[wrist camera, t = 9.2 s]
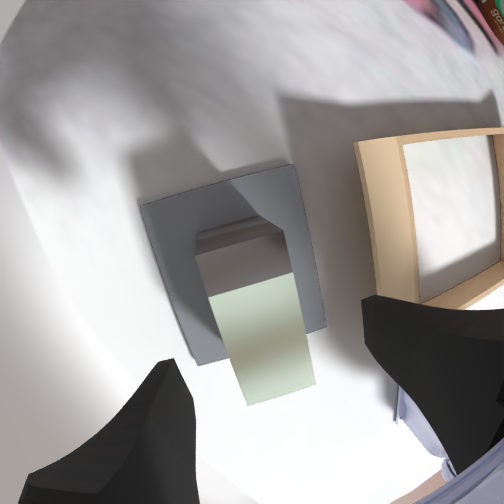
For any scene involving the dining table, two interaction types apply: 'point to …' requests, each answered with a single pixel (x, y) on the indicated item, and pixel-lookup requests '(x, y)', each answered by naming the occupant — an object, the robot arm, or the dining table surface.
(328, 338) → the dining table surface
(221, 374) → the dining table surface
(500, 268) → the carton
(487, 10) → the food container
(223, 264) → the box
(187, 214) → the mat
